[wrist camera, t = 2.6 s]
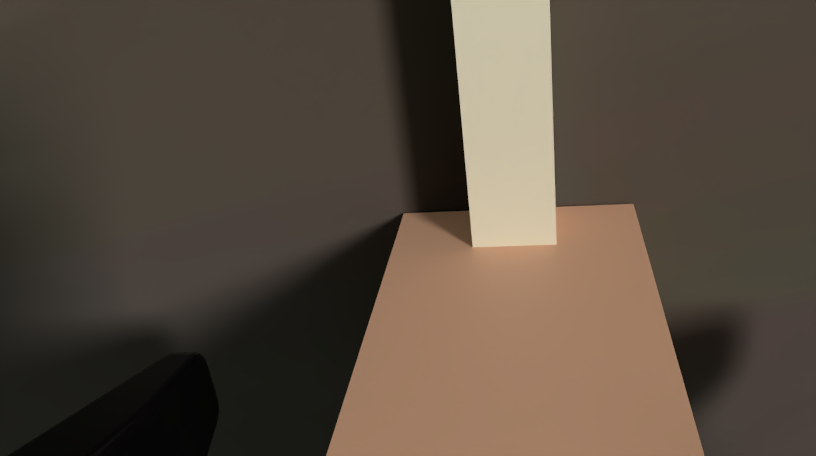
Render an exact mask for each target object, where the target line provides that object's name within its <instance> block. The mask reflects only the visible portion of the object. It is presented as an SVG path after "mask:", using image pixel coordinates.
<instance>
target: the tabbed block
mask: <svg viewBox="0 0 816 456" xmlns="http://www.w3.org/2000/svg"><path fill="white" fill-rule="evenodd" d="M451 8H452V19H453V30H454V42H455V53H456V64H457V76H458V87H459V98H460V109H461V121H462V132H463V143H464V155H465V166H466V177H467V189H468V200H469V211H448V212H424V213H404V214H403V217H402V220H401V223H400V227H399V230H398V233H397V236H396V239H395V242H394V245H393V248H392V252H391V255H390V258H389V261H388V264H387V267H386V270H385V273H384V277H383V280H382V283H381V286H380V289H379V292H378V295H377V298H376V302H375V305H374V308H373V311H372V314H371V317H370V320H369V323H368V326H367V330H366V333H365V336H364V339H363V342H362V345H361V348H360V351H359V355H358V358H357V361H356V364H355V367H354V370H353V373H352V376H351V380H350V383H349V386H348V389H347V392H346V395H345V398H344V401H343V404H342V408H341V411H340V414H339V417H338V420H337V423H336V426H335V429H334V433H333V436H332V439H331V442H330V445H329V448H328V451H327V454H326V456H704V452H703V449H702V445H701V442H700V438H699V435H698V431H697V428H696V424H695V420H694V417H693V413H692V410H691V406H690V403H689V399H688V396H687V392H686V389H685V385H684V382H683V378H682V374H681V371H680V367H679V364H678V360H677V357H676V353H675V350H674V346H673V343H672V339H671V336H670V332H669V328H668V325H667V321H666V318H665V314H664V311H663V307H662V304H661V300H660V297H659V293H658V290H657V286H656V282H655V279H654V275H653V272H652V268H651V265H650V261H649V258H648V254H647V251H646V247H645V244H644V240H643V236H642V233H641V229H640V226H639V222H638V219H637V215H636V212H635V208H634V205H633V204H615V205H591V206H568V207H555V172H554V137H553V102H552V68H551V33H550V0H451Z"/></svg>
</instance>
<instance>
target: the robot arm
mask: <svg viewBox="0 0 816 456" xmlns="http://www.w3.org/2000/svg"><path fill="white" fill-rule="evenodd" d="M218 414H219V404H218V398H217V395H216V392H215V388H214V385H213V382H212V379H211V375H210V372H209V369H208V365H207V362H206V360H205V358H204V357H203V355H201V354H200V353H197V352H175V353H170V354H168V355H166V356H164V357H163V358H161V359H160V360H158V361H156V362H155V363H153V364H152V365H150V366H149V367H147V368H145V369H144V370H142V371H141V372H139V373H138V374H136V375H134V376H133V377H131V378H130V379H128V380H126V381H125V382H123V383H122V384H120V385H119V386H117V387H115V388H114V389H112V390H111V391H109V392H107V393H106V394H104V395H103V396H101V397H100V398H98V399H96V400H95V401H93V402H92V403H90V404H89V405H87V406H85V407H84V408H82V409H81V410H79V411H77V412H76V413H74V414H73V415H71V416H70V417H68V418H66V419H65V420H63V421H62V422H60V423H59V424H57V425H55V426H54V427H52V428H51V429H49V430H47V431H46V432H44V433H43V434H41V435H40V436H38V437H36V438H35V439H33V440H32V441H30V442H28V443H27V444H25V445H24V446H22V447H21V448H19V449H17V450H16V451H14V452H13V453H11V454H10V455H8V456H207V455H208V452H209V448H210V445H211V441H212V438H213V434H214V431H215V427H216V424H217V420H218Z"/></svg>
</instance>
